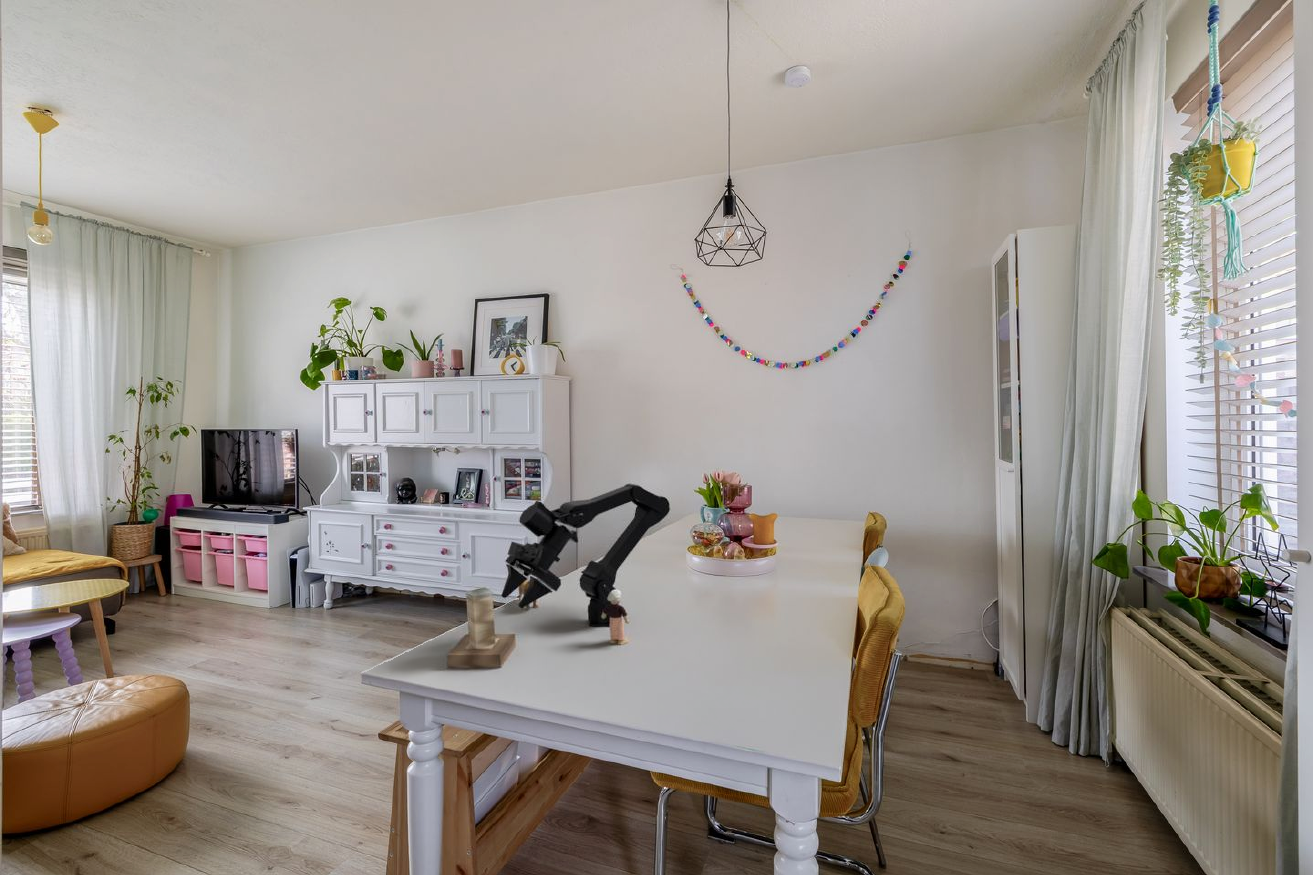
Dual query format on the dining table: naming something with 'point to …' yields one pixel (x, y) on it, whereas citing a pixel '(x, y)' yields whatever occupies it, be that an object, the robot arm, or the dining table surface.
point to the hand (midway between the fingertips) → (511, 602)
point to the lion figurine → (522, 590)
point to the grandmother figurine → (616, 617)
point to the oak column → (480, 617)
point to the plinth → (481, 653)
